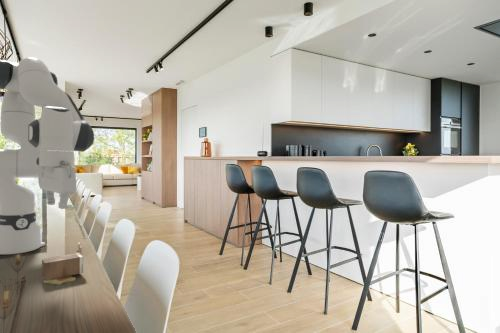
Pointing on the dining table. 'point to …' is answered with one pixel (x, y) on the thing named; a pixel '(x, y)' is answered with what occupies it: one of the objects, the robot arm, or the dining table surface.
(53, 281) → the shard
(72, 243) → the dining table surface
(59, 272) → the wooden block
